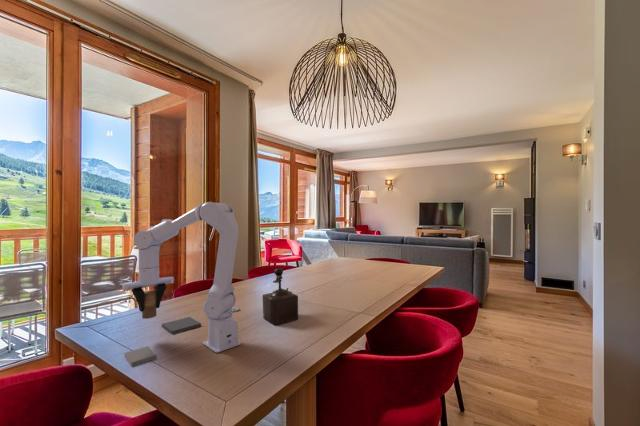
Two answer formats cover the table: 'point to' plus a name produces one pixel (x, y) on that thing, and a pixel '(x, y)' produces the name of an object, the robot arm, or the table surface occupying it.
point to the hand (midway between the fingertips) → (149, 309)
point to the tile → (139, 356)
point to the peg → (149, 304)
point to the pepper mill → (280, 304)
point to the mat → (180, 325)
